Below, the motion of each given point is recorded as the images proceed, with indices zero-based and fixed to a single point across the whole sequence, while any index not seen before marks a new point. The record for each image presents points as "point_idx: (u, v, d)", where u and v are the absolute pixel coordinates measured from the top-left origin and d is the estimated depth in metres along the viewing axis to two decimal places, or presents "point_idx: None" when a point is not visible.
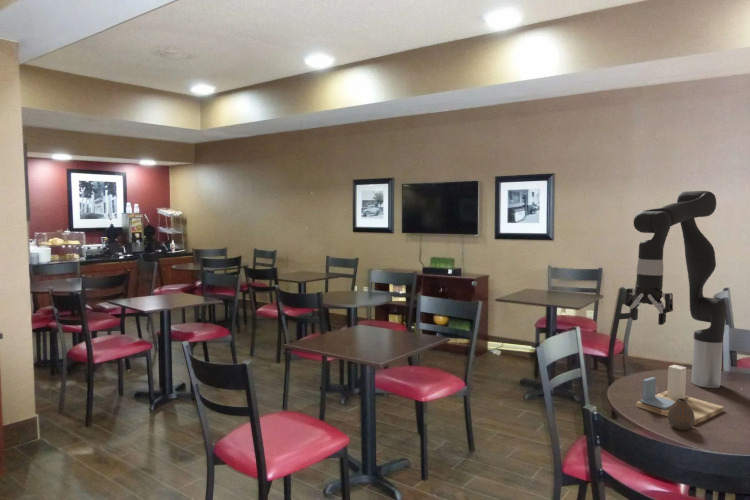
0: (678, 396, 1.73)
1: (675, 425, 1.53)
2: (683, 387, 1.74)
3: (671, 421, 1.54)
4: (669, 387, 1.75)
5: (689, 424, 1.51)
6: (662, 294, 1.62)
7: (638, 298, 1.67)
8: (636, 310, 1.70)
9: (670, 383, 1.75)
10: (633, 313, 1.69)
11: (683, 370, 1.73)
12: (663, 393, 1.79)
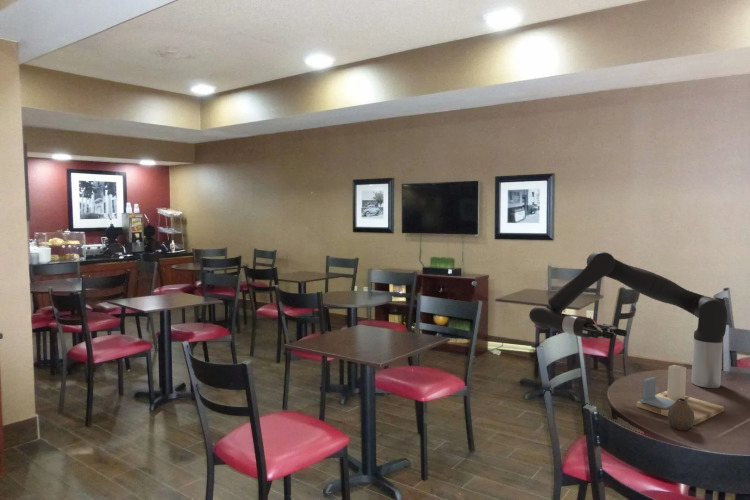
0: (678, 396, 1.73)
1: (675, 425, 1.53)
2: (683, 387, 1.74)
3: (671, 421, 1.54)
4: (669, 387, 1.75)
5: (689, 424, 1.51)
6: None
7: None
8: (617, 331, 1.84)
9: (670, 383, 1.75)
10: None
11: (683, 370, 1.73)
12: (663, 393, 1.79)
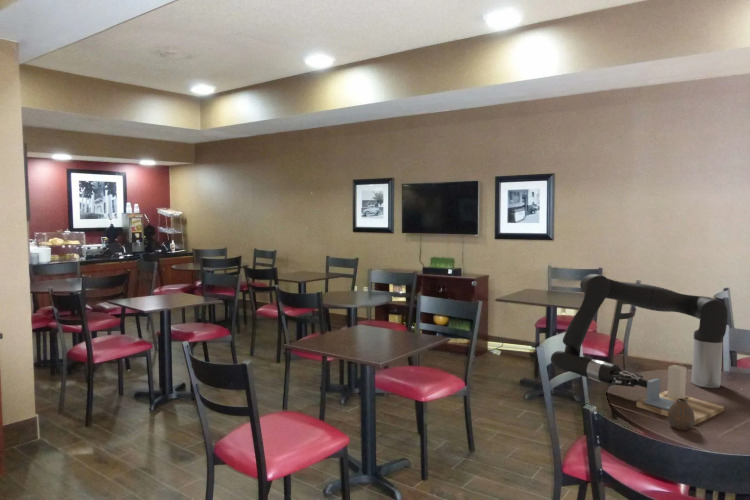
0: (678, 396, 1.73)
1: (675, 425, 1.53)
2: (683, 387, 1.74)
3: (671, 421, 1.54)
4: (669, 387, 1.75)
5: (689, 424, 1.51)
6: None
7: None
8: None
9: (670, 383, 1.75)
10: (644, 386, 1.73)
11: (683, 370, 1.73)
12: (663, 393, 1.79)
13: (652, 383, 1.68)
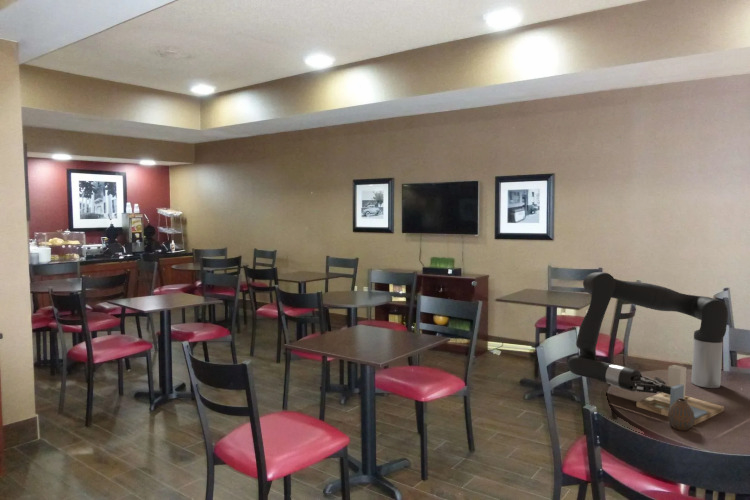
0: None
1: (675, 425, 1.53)
2: None
3: (671, 421, 1.54)
4: None
5: (689, 424, 1.51)
6: None
7: None
8: None
9: (670, 383, 1.75)
10: None
11: (683, 370, 1.73)
12: (663, 393, 1.79)
13: (676, 390, 1.62)
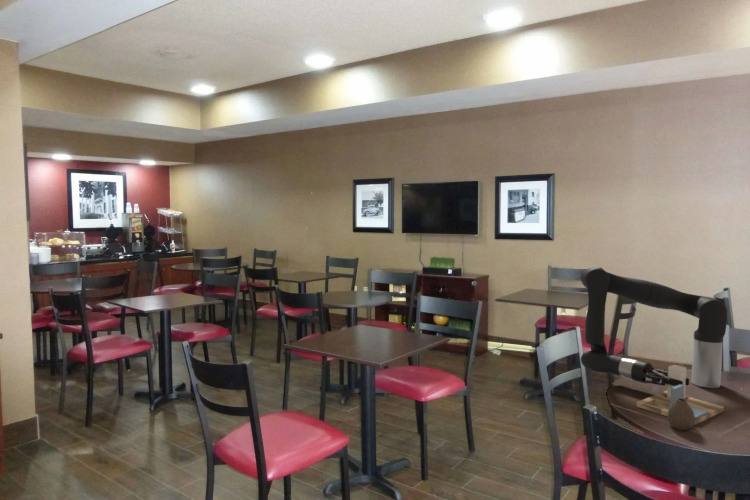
0: None
1: (675, 425, 1.53)
2: None
3: (671, 421, 1.54)
4: (669, 387, 1.75)
5: (689, 424, 1.51)
6: None
7: None
8: None
9: None
10: None
11: (683, 370, 1.73)
12: (663, 393, 1.79)
13: (676, 390, 1.62)
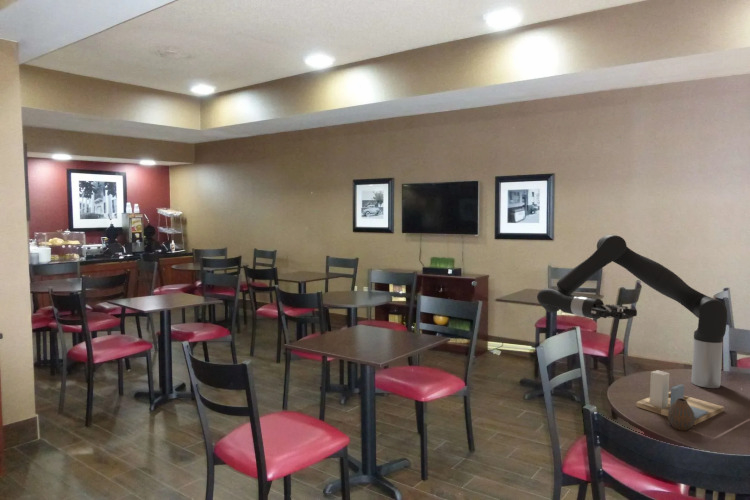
0: (661, 403, 1.66)
1: (675, 425, 1.53)
2: (666, 394, 1.67)
3: (671, 421, 1.54)
4: (652, 394, 1.68)
5: (689, 424, 1.51)
6: None
7: None
8: (626, 311, 1.81)
9: (653, 389, 1.68)
10: None
11: (666, 376, 1.66)
12: None
13: (676, 390, 1.62)
